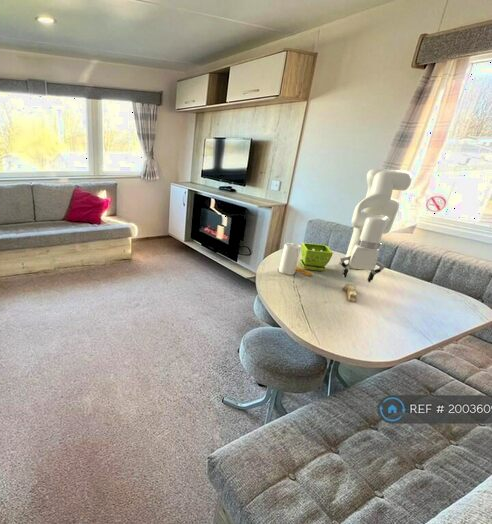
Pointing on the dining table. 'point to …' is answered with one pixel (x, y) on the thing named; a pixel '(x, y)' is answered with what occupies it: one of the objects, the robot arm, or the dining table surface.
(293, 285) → the dining table surface
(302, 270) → the breadstick
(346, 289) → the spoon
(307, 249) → the flower pot
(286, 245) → the cup
